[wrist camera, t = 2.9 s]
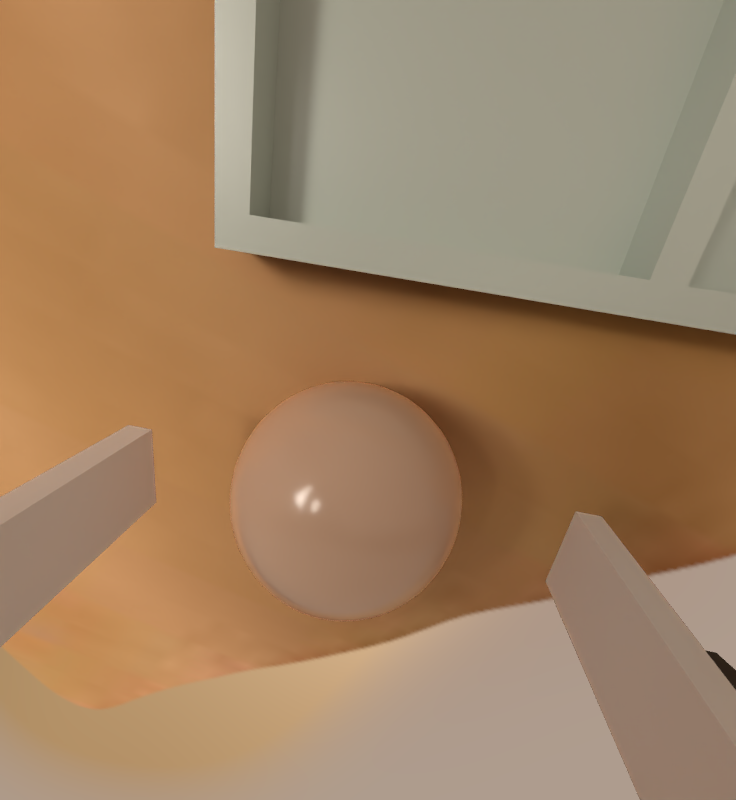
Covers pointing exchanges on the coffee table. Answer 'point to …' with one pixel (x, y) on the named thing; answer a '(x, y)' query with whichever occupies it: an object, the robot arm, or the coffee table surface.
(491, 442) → the coffee table surface
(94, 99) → the coffee table surface
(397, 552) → the pink ball
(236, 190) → the divided tray
